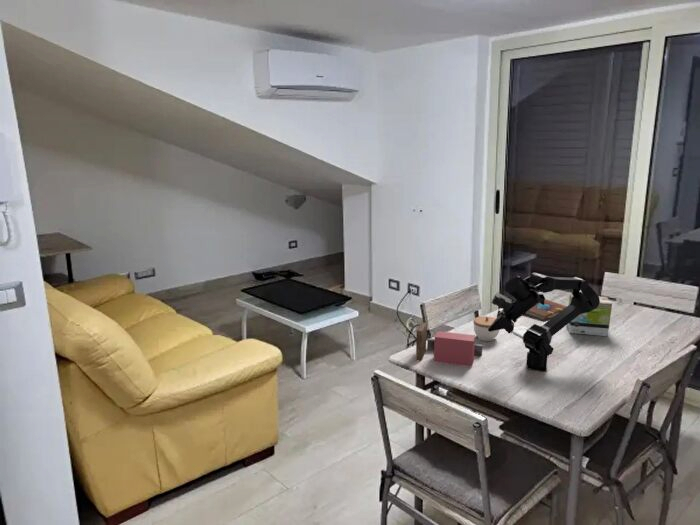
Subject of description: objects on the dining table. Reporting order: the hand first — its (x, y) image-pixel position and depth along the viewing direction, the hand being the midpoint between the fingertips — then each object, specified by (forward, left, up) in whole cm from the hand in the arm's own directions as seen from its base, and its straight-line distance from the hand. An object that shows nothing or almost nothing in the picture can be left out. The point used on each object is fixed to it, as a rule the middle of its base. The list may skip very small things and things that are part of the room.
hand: (488, 330), depth 186 cm
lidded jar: (+3, -26, -14) cm, 30 cm away
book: (-21, -69, -14) cm, 73 cm away
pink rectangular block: (+12, 0, -14) cm, 18 cm away
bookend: (+14, -2, -14) cm, 20 cm away
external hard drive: (-13, -36, -14) cm, 41 cm away
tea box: (-37, -47, -14) cm, 62 cm away
